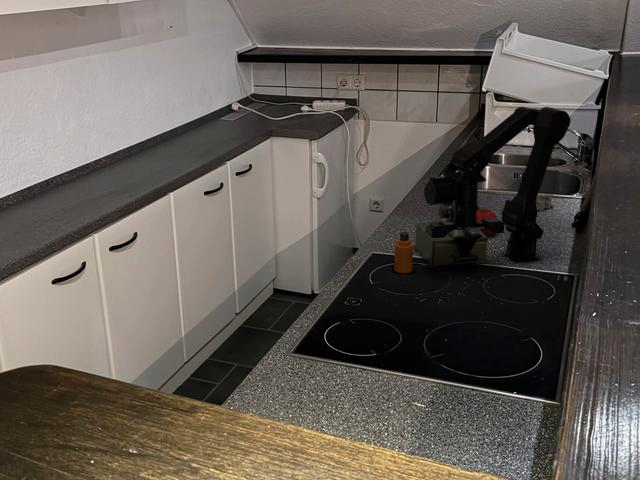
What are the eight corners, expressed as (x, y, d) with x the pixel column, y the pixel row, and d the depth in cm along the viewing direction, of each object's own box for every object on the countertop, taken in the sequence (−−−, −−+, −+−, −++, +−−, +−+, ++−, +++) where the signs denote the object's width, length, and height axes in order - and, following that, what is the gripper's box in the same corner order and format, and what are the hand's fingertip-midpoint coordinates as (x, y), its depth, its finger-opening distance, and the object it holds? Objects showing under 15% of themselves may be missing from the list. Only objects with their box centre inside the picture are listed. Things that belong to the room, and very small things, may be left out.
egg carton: (554, 207, 240) (555, 195, 238) (538, 212, 236) (539, 199, 234) (526, 199, 248) (527, 187, 247) (511, 203, 244) (512, 191, 243)
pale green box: (485, 262, 199) (487, 237, 196) (431, 266, 197) (432, 241, 195) (466, 243, 212) (468, 219, 210) (415, 247, 211) (416, 222, 208)
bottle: (409, 265, 198) (410, 229, 195) (414, 272, 194) (415, 235, 190) (392, 267, 198) (393, 230, 194) (396, 273, 194) (397, 236, 190)
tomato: (484, 227, 224) (486, 201, 222) (503, 236, 217) (505, 209, 214) (459, 231, 221) (460, 205, 218) (478, 241, 214) (479, 214, 211)
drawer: (491, 267, 193) (493, 248, 191) (440, 271, 192) (441, 251, 190) (467, 243, 210) (468, 225, 208) (420, 246, 208) (420, 228, 207)
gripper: (489, 191, 198) (486, 248, 203) (419, 195, 196) (418, 253, 201) (506, 200, 188) (503, 260, 192) (433, 205, 186) (431, 266, 190)
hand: (463, 260), depth 194 cm, fingers closed, pressing on drawer
